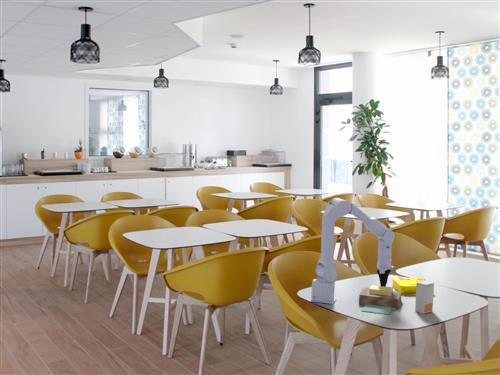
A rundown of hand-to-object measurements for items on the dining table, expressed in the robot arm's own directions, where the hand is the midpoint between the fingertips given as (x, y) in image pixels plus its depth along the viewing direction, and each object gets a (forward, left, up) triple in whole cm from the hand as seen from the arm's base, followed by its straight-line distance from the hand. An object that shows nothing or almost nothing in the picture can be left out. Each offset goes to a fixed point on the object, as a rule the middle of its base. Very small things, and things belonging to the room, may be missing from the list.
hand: (383, 286), depth 241 cm
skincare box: (+18, -14, -5) cm, 23 cm away
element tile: (+11, +17, -6) cm, 21 cm away
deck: (0, -9, -5) cm, 10 cm away
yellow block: (0, -8, -1) cm, 8 cm away
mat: (0, -19, -5) cm, 20 cm away
